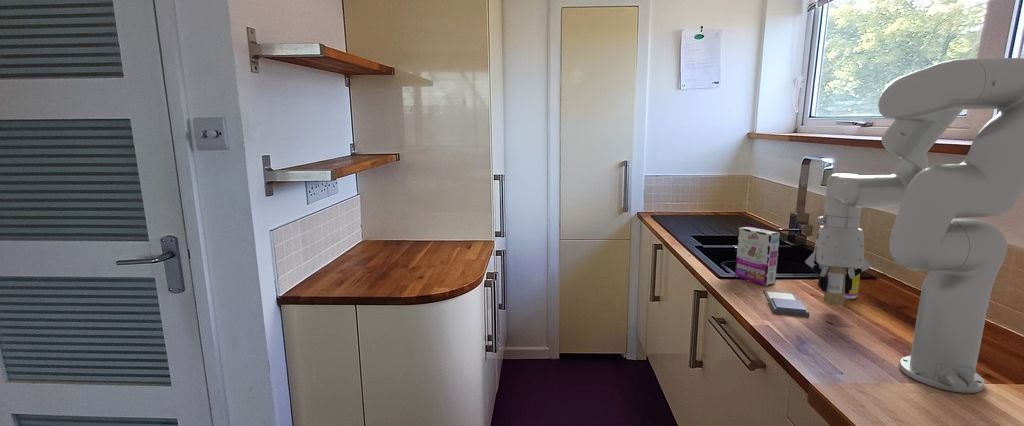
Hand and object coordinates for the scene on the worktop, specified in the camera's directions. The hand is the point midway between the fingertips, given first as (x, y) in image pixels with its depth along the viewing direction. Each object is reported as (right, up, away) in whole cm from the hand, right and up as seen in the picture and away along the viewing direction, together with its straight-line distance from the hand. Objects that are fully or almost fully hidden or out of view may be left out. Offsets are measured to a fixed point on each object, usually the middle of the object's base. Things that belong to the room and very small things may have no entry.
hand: (834, 290), depth 125 cm
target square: (-7, -4, +12) cm, 14 cm away
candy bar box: (-7, -1, +26) cm, 27 cm away
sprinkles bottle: (0, -4, +1) cm, 4 cm away
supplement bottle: (+11, -4, +13) cm, 17 cm away
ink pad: (-10, -6, +3) cm, 12 cm away
